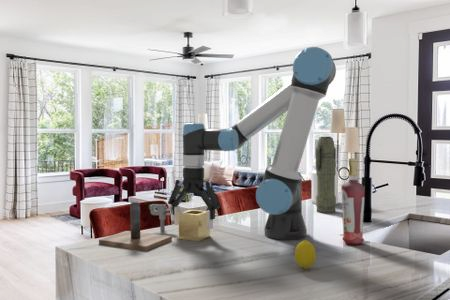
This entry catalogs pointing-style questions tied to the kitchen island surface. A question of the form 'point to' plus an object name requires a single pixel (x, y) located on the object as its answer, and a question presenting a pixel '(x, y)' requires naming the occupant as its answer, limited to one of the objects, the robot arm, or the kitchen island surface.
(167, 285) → the kitchen island surface
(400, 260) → the kitchen island surface
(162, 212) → the mechanical component
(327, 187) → the thermos
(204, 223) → the hollow square tube
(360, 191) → the liquor
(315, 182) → the bottle
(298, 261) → the lemon
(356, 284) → the kitchen island surface
